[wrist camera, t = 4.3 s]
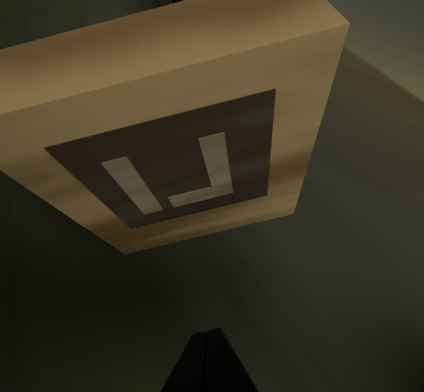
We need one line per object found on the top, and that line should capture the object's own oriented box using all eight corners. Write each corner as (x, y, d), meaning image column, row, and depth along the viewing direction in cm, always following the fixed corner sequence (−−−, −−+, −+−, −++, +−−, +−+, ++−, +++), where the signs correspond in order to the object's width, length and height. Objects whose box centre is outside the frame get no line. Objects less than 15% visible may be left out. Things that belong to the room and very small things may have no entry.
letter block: (293, 215, 17) (351, 25, 7) (124, 255, 17) (-60, 132, 7) (274, 168, 19) (296, -30, 9) (124, 205, 20) (-20, 55, 9)
